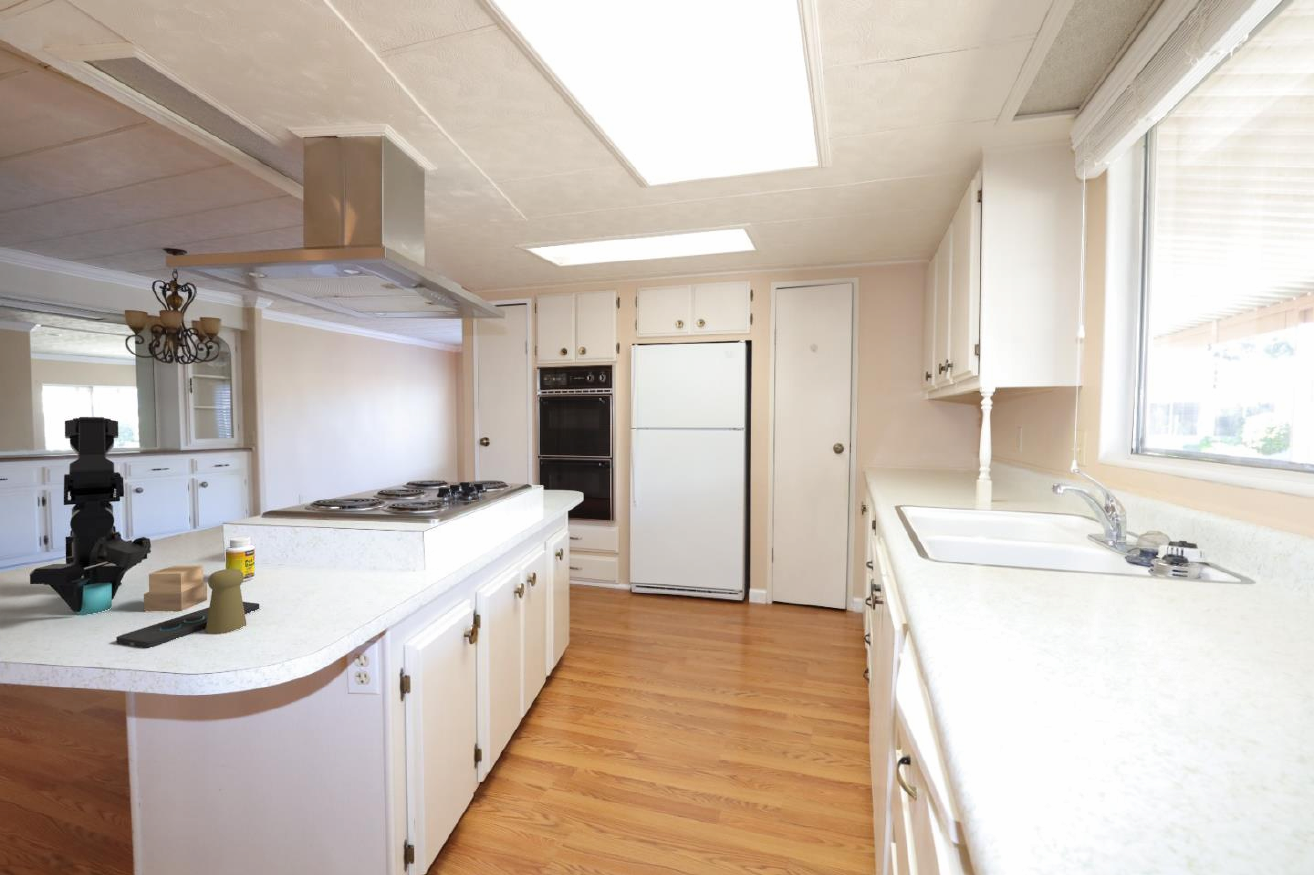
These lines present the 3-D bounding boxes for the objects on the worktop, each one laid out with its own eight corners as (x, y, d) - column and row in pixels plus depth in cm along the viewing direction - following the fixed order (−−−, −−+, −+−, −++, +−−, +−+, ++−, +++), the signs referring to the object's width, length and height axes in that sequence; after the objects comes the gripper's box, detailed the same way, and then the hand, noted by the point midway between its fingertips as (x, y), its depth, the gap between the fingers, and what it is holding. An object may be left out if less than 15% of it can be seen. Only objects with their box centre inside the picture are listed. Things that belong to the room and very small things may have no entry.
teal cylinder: (92, 606, 109) (91, 582, 109) (118, 606, 110) (118, 582, 110) (68, 615, 104) (67, 590, 104) (96, 615, 105) (95, 590, 105)
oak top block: (172, 584, 113) (172, 565, 113) (203, 583, 114) (203, 565, 114) (149, 593, 107) (148, 573, 107) (181, 592, 108) (180, 573, 108)
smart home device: (113, 636, 92) (230, 599, 111) (113, 645, 92) (230, 607, 112) (148, 641, 90) (261, 603, 110) (148, 651, 90) (261, 611, 110)
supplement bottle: (247, 582, 126) (247, 540, 126) (220, 584, 125) (220, 541, 125) (259, 576, 132) (259, 535, 132) (233, 577, 131) (233, 536, 130)
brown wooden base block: (172, 601, 114) (171, 583, 114) (207, 601, 114) (206, 582, 114) (143, 613, 107) (143, 594, 107) (181, 612, 107) (181, 593, 107)
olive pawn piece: (212, 636, 95) (212, 576, 95) (199, 629, 99) (199, 571, 98) (252, 626, 101) (252, 569, 100) (238, 619, 104) (238, 564, 103)
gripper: (93, 539, 98) (94, 622, 99) (173, 520, 117) (174, 590, 117) (25, 539, 97) (27, 623, 97) (118, 520, 115) (118, 591, 116)
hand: (94, 605), depth 107 cm, fingers open, 7 cm apart
